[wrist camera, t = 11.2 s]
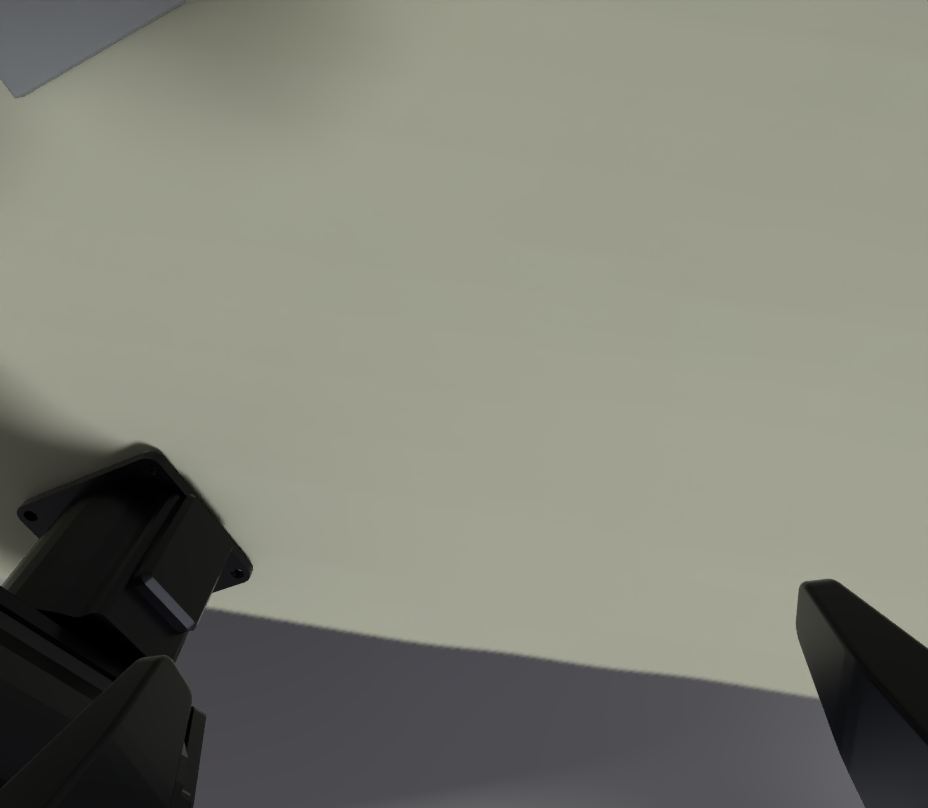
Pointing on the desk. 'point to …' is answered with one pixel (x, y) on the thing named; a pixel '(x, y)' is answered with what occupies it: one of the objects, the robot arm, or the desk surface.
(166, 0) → the mat
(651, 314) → the desk surface
